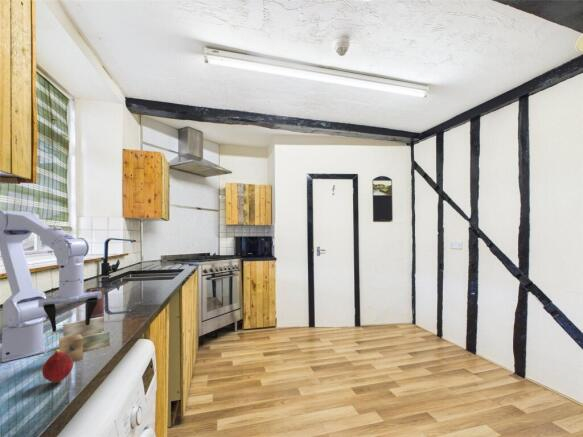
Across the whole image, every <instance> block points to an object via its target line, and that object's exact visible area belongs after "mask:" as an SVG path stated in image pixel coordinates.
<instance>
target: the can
mask: <svg viewBox="0 0 583 437" xmlns="http://www.w3.org/2000/svg"><path fill="white" fill-rule="evenodd" d="M96 291H101V292H102V298H100V299H97V300H98V303H97V305H96V307H95V308H94V311H93V313H92V316H91V319H92V318H98V317H104V318H105V289H104V287H103V286H100V287H89V288H87V289H86V290H85V292H96ZM84 307H85V311H84V313H85V314H84V315H85V317H86V304H85V306H84Z"/></svg>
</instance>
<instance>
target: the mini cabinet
mask: <svg viewBox="0 0 583 437" xmlns="http://www.w3.org/2000/svg"><path fill="white" fill-rule="evenodd" d="M58 349H59V350H60V351H61V352H63V353H66V354H68V355H69V356H70V358H71V359H72V361H73V363H75V362H78V361H82V360H83V359H84V351H83V337H82V336H81V334H78V335H73V336H68V337H63V336H62V337H59V339H58ZM74 361H75V362H74Z"/></svg>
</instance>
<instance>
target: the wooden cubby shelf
mask: <svg viewBox="0 0 583 437" xmlns="http://www.w3.org/2000/svg"><path fill="white" fill-rule="evenodd" d="M62 331H63V332H62V334H63V335H62V338H63V337H68V336H73V335H78V334H81V336H82V337H83V352H87V351H90V350H95V349H99V348H103V347H107V346H110V345H111V342H110V339H111V338H110V337H111V336H110V335H111V334H110V333H111V332H110V330H108V331H105V316H104V317H98V318H92V319H90V323H89V325H86V324H85V319H83V320H77V321H72V322H66V323H63V329H62Z"/></svg>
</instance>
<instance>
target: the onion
mask: <svg viewBox="0 0 583 437" xmlns="http://www.w3.org/2000/svg"><path fill="white" fill-rule="evenodd" d="M73 365H74V362H73V361H72V359H71V358H70V356H69V355H68V354H66V353H63V352H61V351H60V350H59V348H57V349H55V351H54V353H53V354H52V355H51V356H50V357H49V358H48V359H47V360H46V361H45V362H44V364H43V366H42V370H41V373H42V376H43V378H44V379H45V380H47V381H49V382H51V383H53V384H58V383H60V382H61V381H62V380H64V379H65V378H67V376H68V375H70V373H71V372H72V370H73Z"/></svg>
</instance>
